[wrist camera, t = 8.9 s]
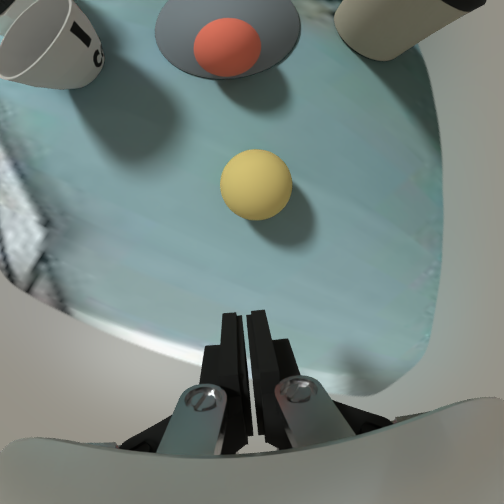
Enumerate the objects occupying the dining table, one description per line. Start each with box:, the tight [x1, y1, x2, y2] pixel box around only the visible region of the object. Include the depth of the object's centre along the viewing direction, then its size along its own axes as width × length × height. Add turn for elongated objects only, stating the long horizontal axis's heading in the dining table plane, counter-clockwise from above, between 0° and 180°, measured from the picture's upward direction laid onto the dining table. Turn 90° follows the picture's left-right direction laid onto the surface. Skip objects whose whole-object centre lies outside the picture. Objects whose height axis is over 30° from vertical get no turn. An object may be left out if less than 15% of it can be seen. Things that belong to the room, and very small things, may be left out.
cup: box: [0, 0, 104, 90], centre depth 15 cm, size 8×8×10 cm
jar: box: [0, 0, 37, 36], centre depth 11 cm, size 9×8×12 cm
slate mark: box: [155, 0, 300, 79], centre depth 20 cm, size 14×14×1 cm
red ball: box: [194, 18, 261, 77], centre depth 18 cm, size 6×6×6 cm
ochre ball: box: [220, 149, 292, 220], centre depth 21 cm, size 6×6×6 cm
